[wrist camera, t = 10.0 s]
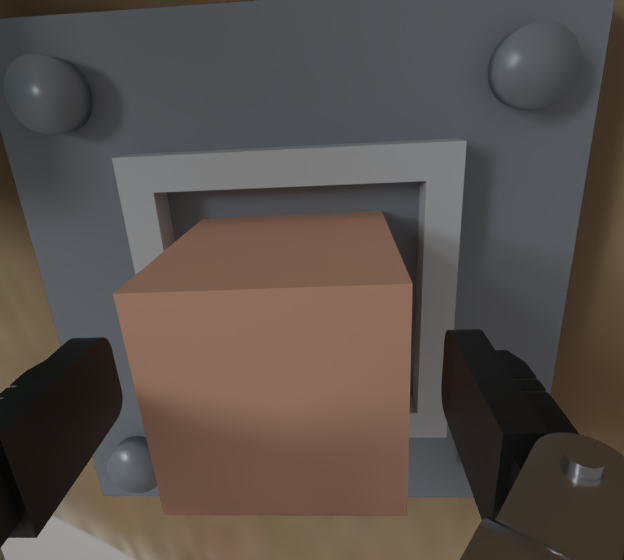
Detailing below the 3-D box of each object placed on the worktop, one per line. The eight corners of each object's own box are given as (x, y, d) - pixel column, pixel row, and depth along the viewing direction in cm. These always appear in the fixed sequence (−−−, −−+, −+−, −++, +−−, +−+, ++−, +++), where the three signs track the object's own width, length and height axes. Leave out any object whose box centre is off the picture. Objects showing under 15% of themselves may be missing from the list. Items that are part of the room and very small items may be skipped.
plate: (119, 468, 20) (90, 516, 17) (6, 29, 14) (-62, 13, 11) (518, 468, 19) (544, 519, 16) (587, -11, 13) (644, -37, 10)
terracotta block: (225, 371, 16) (164, 514, 10) (202, 218, 14) (112, 293, 8) (381, 368, 16) (407, 515, 10) (381, 210, 14) (412, 283, 8)
